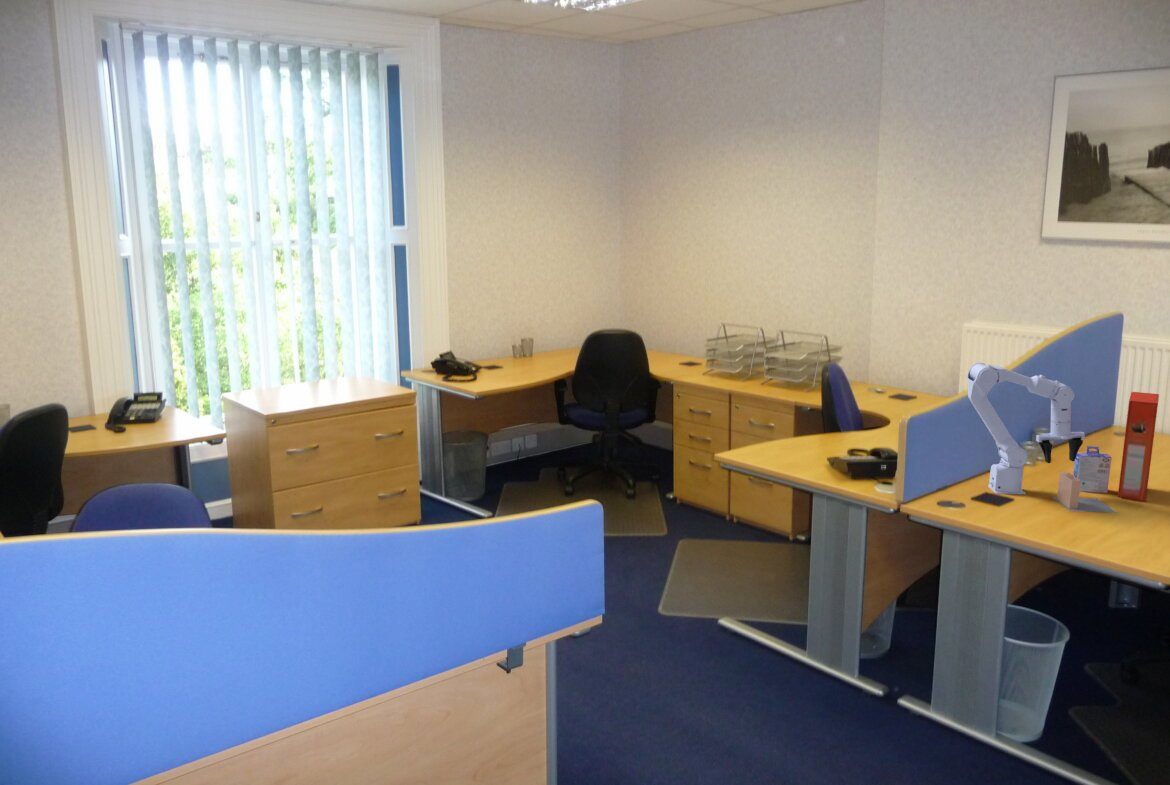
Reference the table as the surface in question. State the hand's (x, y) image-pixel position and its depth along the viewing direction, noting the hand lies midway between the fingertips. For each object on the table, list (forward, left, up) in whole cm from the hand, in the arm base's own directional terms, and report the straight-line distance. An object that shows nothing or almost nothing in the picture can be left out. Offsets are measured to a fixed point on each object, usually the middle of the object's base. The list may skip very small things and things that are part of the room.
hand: (1060, 461), depth 300 cm
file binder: (+25, +2, -11) cm, 27 cm away
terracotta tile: (-2, -13, -10) cm, 17 cm away
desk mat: (+3, -13, -11) cm, 17 cm away
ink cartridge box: (+12, +4, -11) cm, 17 cm away
